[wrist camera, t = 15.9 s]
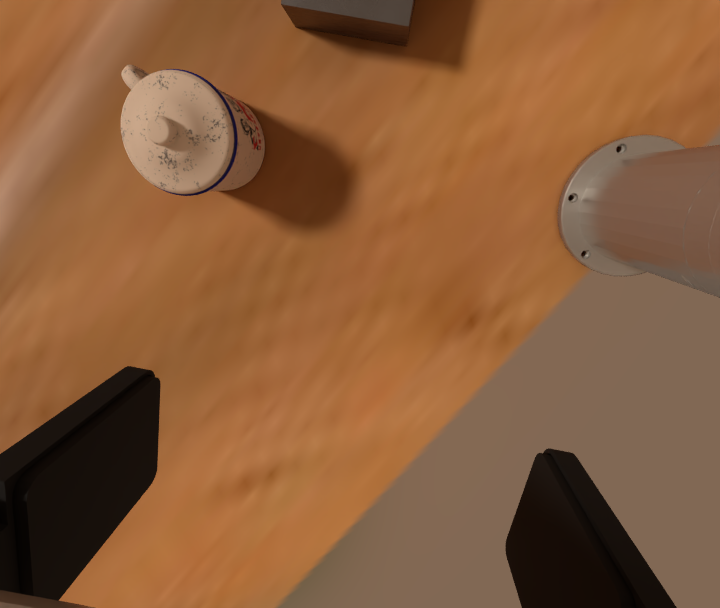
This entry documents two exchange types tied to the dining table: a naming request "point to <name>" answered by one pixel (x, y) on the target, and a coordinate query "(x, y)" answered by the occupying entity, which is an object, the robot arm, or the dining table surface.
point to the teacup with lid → (188, 133)
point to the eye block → (355, 18)
